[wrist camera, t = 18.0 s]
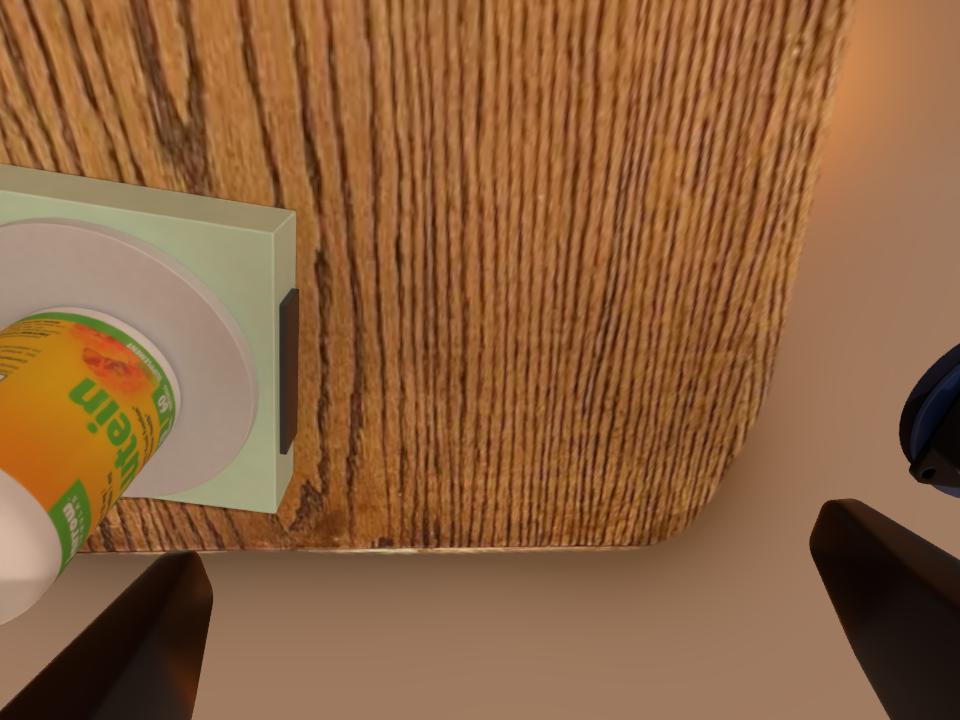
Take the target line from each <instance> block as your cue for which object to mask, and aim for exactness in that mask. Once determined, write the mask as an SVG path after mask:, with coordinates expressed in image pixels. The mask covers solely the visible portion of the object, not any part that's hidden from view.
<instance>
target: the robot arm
mask: <svg viewBox="0 0 960 720" xmlns="http://www.w3.org/2000/svg"><path fill="white" fill-rule="evenodd" d="M925 470H926V471H925ZM909 472H910V474H911V475H912V476H913V477H914V478H915V479H916V480H917V481H918V482H920V483H923V484H930V485H937V486H944V487H951V488H958V489H960V390H959V392H958V394H957V395H956V397H955V398H954V400H953V401H952V403H951V404H950V406H949V407H948V409H947V410H946V412H945V413H944V415H943V416H942V418H941V420H940V421H939V423H938V424H937V426H936V427H935V429H934V430H933V432H932V433H931V435H930V436H929V438H928V439H927V441H926V442H925V444H924V446H923V447H922V449H921V450H920V452H919V453H918V455H917V456H916V458H915V459H914V461H913V462H912V464H911V465H910V468H909ZM809 545H810V551H811V555H812V557H813V560H814V562H815V564H816V567H817V569H818V571H819V574H820V576H821V578H822V581H823V583H824V585H825V588H826V590H827V592H828V595H829V597H830V599H831V602H832V604H833V606H834V608H835V611H836V613H837V615H838V618H839V620H840V622H841V625H842V627H843V629H844V632H845V634H846V636H847V639H848V640H849V643H850V645H851V647H852V649H853V651H854V654H855V656H856V657H857V659H858V661H859V663H860V665H861V667H862V669H863V671H864V673H865V674H866V676H867V678H868V680H869V682H870V684H871V685H872V687H873V689H874V691H875V693H876V694H877V696H878V698H879V700H880V702H881V703H882V705H883V707H884V709H885V711H886V713H887V714H888V716H889V718H890V720H960V560H959V559H957V558H956V557H954V556H952V555H950V554H949V553H947V552H945V551H944V550H942V549H940V548H939V547H937V546H935V545H934V544H932V543H930V542H929V541H927V540H925V539H923V538H922V537H920V536H918V535H916V534H915V533H913V532H912V531H910V530H908V529H906V528H905V527H903V526H902V525H899V524H898V523H896V522H895V521H893V520H891V519H890V518H888V517H886V516H885V515H883V514H881V513H880V512H878V511H876V510H874V509H873V508H871V507H869V506H868V505H866V504H864V503H862V502H861V501H858V500H856V499H839V500H830V501H827V502H826V503H824V504H823V506H822V508H821V510H820V513H819V515H818V518H817V521H816V523H815V525H814V528H813V531H812V533H811V536H810V541H809ZM212 605H213V591H212V587H211V584H210V581H209V579H208V576H207V574H206V571H205V569H204V566H203V564H202V561H201V558H200V556H199V554H198V553H197V552H195V551H192V550H187V551H175V552H167V553H164V554H163V555H161V556H160V557H159V558H158V559H156V560H155V561H154V562H153V563H152V564H151V565H150V566H149V567H148V568H147V569H146V570H145V571H144V572H143V573H142V574H141V575H140V576H139V577H138V578H137V579H136V580H135V581H134V582H133V583H132V584H131V585H130V586H129V587H128V588H126V589H125V590H124V591H123V592H122V593H121V594H120V595H119V596H118V597H117V598H116V599H115V600H114V601H113V602H112V603H111V604H110V605H109V606H108V607H107V608H106V609H105V610H104V611H103V612H102V613H101V614H100V615H99V616H98V617H97V618H96V619H94V620H93V621H92V622H91V623H90V624H89V625H88V626H87V627H86V628H85V629H84V630H83V631H82V632H81V633H80V634H79V635H78V636H77V637H76V638H75V639H74V640H73V641H72V642H71V643H70V644H69V645H68V646H67V647H66V648H65V649H64V650H63V651H61V652H60V653H59V654H58V655H57V656H56V657H55V658H54V659H53V660H52V661H51V662H50V663H49V664H48V665H47V666H46V667H45V668H44V669H43V670H42V671H41V672H40V673H39V674H38V675H37V676H36V677H35V678H34V679H33V680H31V681H30V683H28V684H27V685H26V686H25V687H24V688H23V689H22V690H21V691H20V692H19V693H18V694H17V695H16V696H15V697H14V698H13V699H12V700H11V701H10V702H9V703H8V704H7V705H6V706H5V707H4V708H3V709H2V710H1V711H0V720H191V718H192V713H193V709H194V703H195V699H196V694H197V688H198V682H199V677H200V672H201V666H202V661H203V654H204V650H205V644H206V638H207V633H208V627H209V622H210V616H211V610H212Z"/></svg>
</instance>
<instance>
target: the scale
mask: <svg viewBox="0 0 960 720" xmlns="http://www.w3.org/2000/svg"><path fill="white" fill-rule="evenodd" d="M295 279H296V212H295V211H293V210H286V209H280V208H274V207H268V206H262V205H255V204H249V203H243V202H237V201H230V200H224V199H218V198H212V197H206V196H199V195H193V194H187V193H181V192H174V191H168V190H162V189H156V188H150V187H143V186H137V185H131V184H125V183H118V182H112V181H106V180H100V179H94V178H87V177H81V176H75V175H69V174H62V173H56V172H50V171H44V170H38V169H31V168H25V167H19V166H13V165H6V164H0V331H2V330H4V329H5V328H7V327H8V326H10V325H11V324H13V323H15V322H17V321H19V320H21V319H22V318H24V317H26V316H28V315H30V314H32V313H35V312H38V311H41V310H45V309H50V308H57V307H76V308H84V309H90V310H95V311H98V312H102V313H105V314H107V315H110V316H112V317H114V318H117V319H119V320H121V321H123V322H125V323H126V324H128V325H130V326H131V327H133V328H135V329H136V330H137V331H139V332H140V333H141V334H143V335H144V336H145V337H146V338H147V339H149V340H150V341H151V342H152V343H153V344H154V345H155V346H156V347H157V348H158V349H159V350H160V352H161V353H162V354H163V356H164V357H165V358H166V360H167V361H168V363H169V364H170V366H171V368H172V370H173V372H174V374H175V376H176V379H177V382H178V385H179V389H180V397H181V402H180V411H179V416H178V419H177V422H176V424H175V426H174V428H173V429H172V431H171V432H170V434H169V435H168V436H167V438H166V439H165V441H164V442H163V443H162V445H161V446H160V447H159V448H158V450H157V451H156V452H155V454H154V455H153V456H152V457H151V459H150V460H149V461H148V462H147V463H146V465H145V466H144V467H143V469H142V470H141V471H140V473H139V474H138V475H137V476H136V478H135V479H134V480H133V481H132V482H131V484H130V485H129V486H128V488H127V489H126V490H125V491H124V493H123V494H122V495H121V497H133V498H135V497H146V498H154V499H162V500H170V501H178V502H186V503H194V504H201V505H209V506H217V507H225V508H233V509H241V510H248V511H256V512H264V513H272V514H275V513H276V512H277V509H278V507H279V505H280V502H281V500H282V498H283V495H284V493H285V491H286V489H287V486H288V484H289V482H290V479H291V477H292V475H293V454H294V438H295V436H296V433H297V401H298V334H299V289H295Z"/></svg>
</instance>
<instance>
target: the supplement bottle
mask: <svg viewBox="0 0 960 720" xmlns="http://www.w3.org/2000/svg"><path fill="white" fill-rule="evenodd" d="M180 402H181V397H180V389H179V385H178V382H177V379H176V376H175V374H174V372H173V370H172V368H171V366H170V364H169V363H168V361H167V360H166V358H165V357H164V356H163V354H162V353H161V352H160V350H159V349H158V348H157V347H156V346H155V345H154V344H153V343H152V342H151V341H150V340H149V339H147V338H146V337H145V336H144V335H143V334H141V333H140V332H139V331H137V330H136V329H135V328H133V327H131V326H130V325H128V324H126V323H125V322H123V321H121V320H119V319H117V318H114V317H112V316H110V315H107V314H105V313H102V312H98V311H95V310H90V309H84V308H76V307H57V308H50V309H45V310H41V311H38V312H35V313H32V314H30V315H28V316H26V317H24V318H22V319H21V320H19V321H17V322H15V323H13V324H11V325H10V326H8V327H7V328H5V329H4V330H2V331H0V625H1V624H4V623H6V622H8V621H10V620H12V619H14V618H16V617H18V616H19V615H21V614H23V613H24V612H25V611H27V610H28V609H29V608H31V607H32V606H33V605H34V604H35V603H36V602H37V601H38V600H39V599H40V598H41V597H42V596H43V595H44V593H45V592H46V591H47V590H48V589H49V588H50V586H51V585H52V584H53V583H54V582H55V581H56V579H57V578H58V577H59V576H60V574H61V573H62V572H63V570H64V569H65V568H66V566H67V565H68V564H69V562H70V561H71V560H72V559H73V557H74V556H75V555H76V553H77V552H78V551H79V549H80V548H81V547H82V545H83V544H84V543H85V542H86V540H87V539H88V538H89V536H90V535H91V534H92V532H93V531H94V530H95V529H96V527H97V526H98V525H99V523H100V522H101V521H102V520H103V518H104V517H105V516H106V514H107V513H108V512H109V511H110V509H111V508H112V507H113V506H114V505H115V503H116V502H117V501H118V499H119V498H120V497H121V495H122V494H123V493H124V491H125V490H126V489H127V488H128V486H129V485H130V484H131V482H132V481H133V480H134V479H135V478H136V476H137V475H138V474H139V473H140V471H141V470H142V469H143V467H144V466H145V465H146V463H147V462H148V461H149V460H150V459H151V457H152V456H153V455H154V454H155V452H156V451H157V450H158V448H159V447H160V446H161V445H162V443H163V442H164V441H165V439H166V438H167V436H168V435H169V434H170V432H171V431H172V429H173V428H174V426H175V424H176V422H177V419H178V416H179V411H180Z"/></svg>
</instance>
